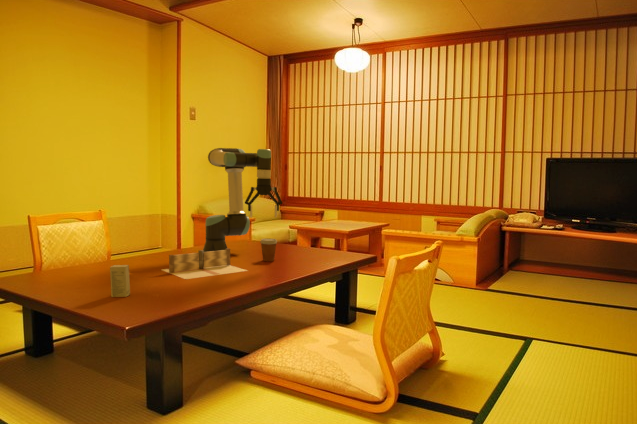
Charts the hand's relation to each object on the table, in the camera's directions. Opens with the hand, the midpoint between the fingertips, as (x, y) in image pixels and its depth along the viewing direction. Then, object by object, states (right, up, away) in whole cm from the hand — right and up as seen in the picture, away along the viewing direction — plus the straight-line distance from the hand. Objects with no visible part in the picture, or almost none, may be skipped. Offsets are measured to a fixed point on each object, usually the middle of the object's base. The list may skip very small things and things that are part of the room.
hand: (263, 217), depth 272 cm
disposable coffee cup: (+1, -25, +13) cm, 28 cm away
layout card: (-28, -27, -20) cm, 43 cm away
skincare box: (-49, -31, -71) cm, 92 cm away
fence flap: (-23, -25, -11) cm, 36 cm away
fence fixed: (-36, -27, -21) cm, 50 cm away
